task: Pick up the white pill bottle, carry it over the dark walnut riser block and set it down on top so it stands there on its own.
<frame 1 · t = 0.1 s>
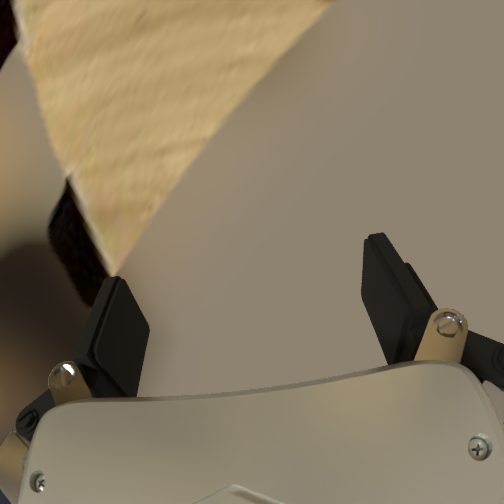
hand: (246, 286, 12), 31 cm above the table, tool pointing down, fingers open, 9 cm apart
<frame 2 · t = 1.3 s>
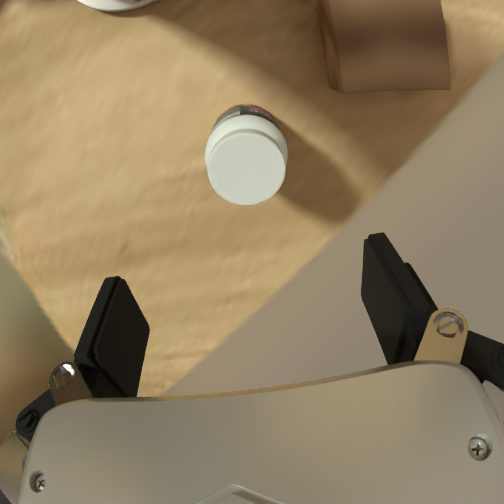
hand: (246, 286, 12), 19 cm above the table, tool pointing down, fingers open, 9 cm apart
riser: (375, 32, 22), on the table
pill bottle: (244, 133, 27), on the table
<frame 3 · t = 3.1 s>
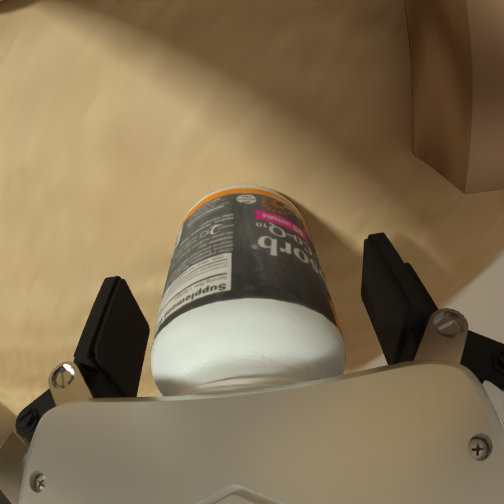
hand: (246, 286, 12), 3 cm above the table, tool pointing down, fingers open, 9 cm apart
riser: (494, 52, 9), on the table
pill bottle: (242, 236, 15), on the table
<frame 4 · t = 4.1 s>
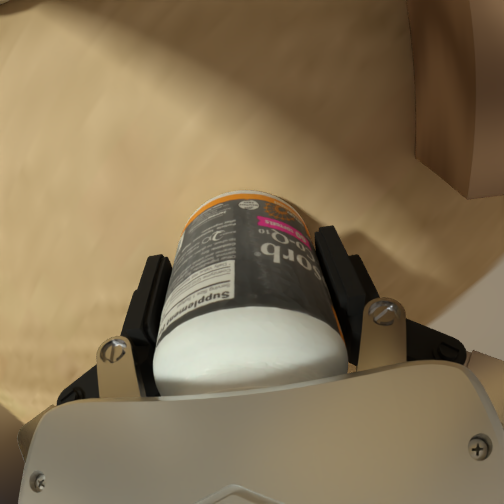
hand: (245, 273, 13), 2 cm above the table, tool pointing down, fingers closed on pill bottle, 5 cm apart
riser: (497, 56, 9), on the table
pill bottle: (243, 241, 15), on the table, touching gripper
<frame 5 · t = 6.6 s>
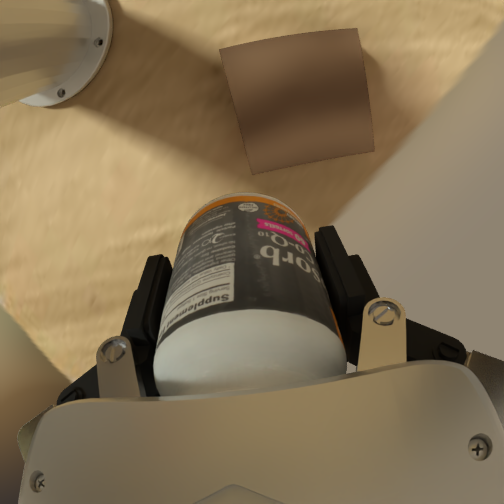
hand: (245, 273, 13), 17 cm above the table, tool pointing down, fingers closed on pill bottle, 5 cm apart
riser: (294, 93, 24), on the table
pill bottle: (243, 243, 15), point 15 cm above the table, touching gripper
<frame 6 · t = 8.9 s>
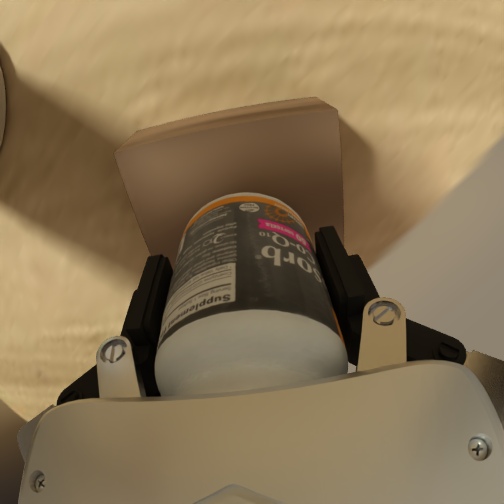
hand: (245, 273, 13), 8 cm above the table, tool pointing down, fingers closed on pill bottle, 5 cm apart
riser: (240, 191, 19), on the table
pill bottle: (244, 243, 15), point 5 cm above the table, touching gripper
when the fingers open (7 cm above the table, at t = 9.8 s): pill bottle drops 1 cm, resting on riser.
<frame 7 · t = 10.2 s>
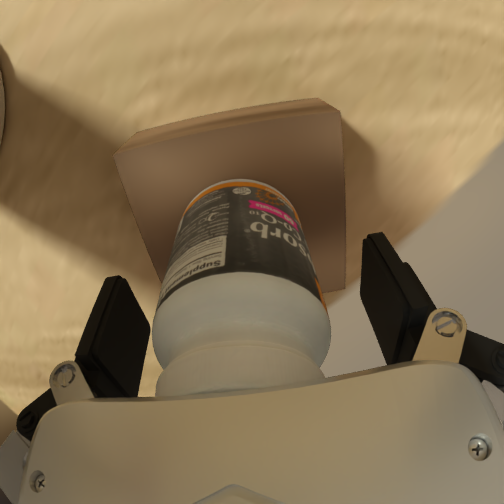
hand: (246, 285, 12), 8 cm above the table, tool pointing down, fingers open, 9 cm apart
riser: (241, 194, 19), on the table
pill bottle: (238, 227, 16), point 4 cm above the table, touching riser
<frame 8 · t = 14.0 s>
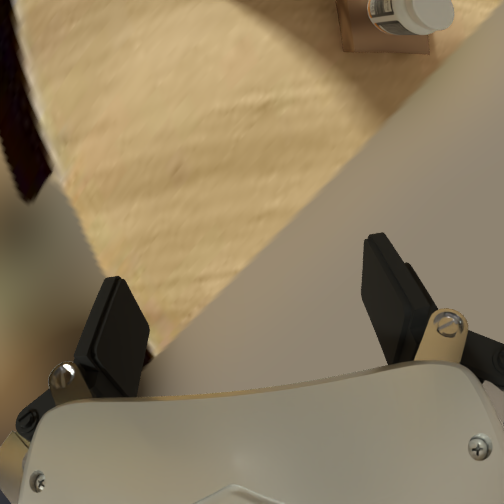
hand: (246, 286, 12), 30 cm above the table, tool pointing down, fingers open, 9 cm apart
riser: (375, 15, 29), on the table
pill bottle: (387, 12, 26), point 4 cm above the table, touching riser
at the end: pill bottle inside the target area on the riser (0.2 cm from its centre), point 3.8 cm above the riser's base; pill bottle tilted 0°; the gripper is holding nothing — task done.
